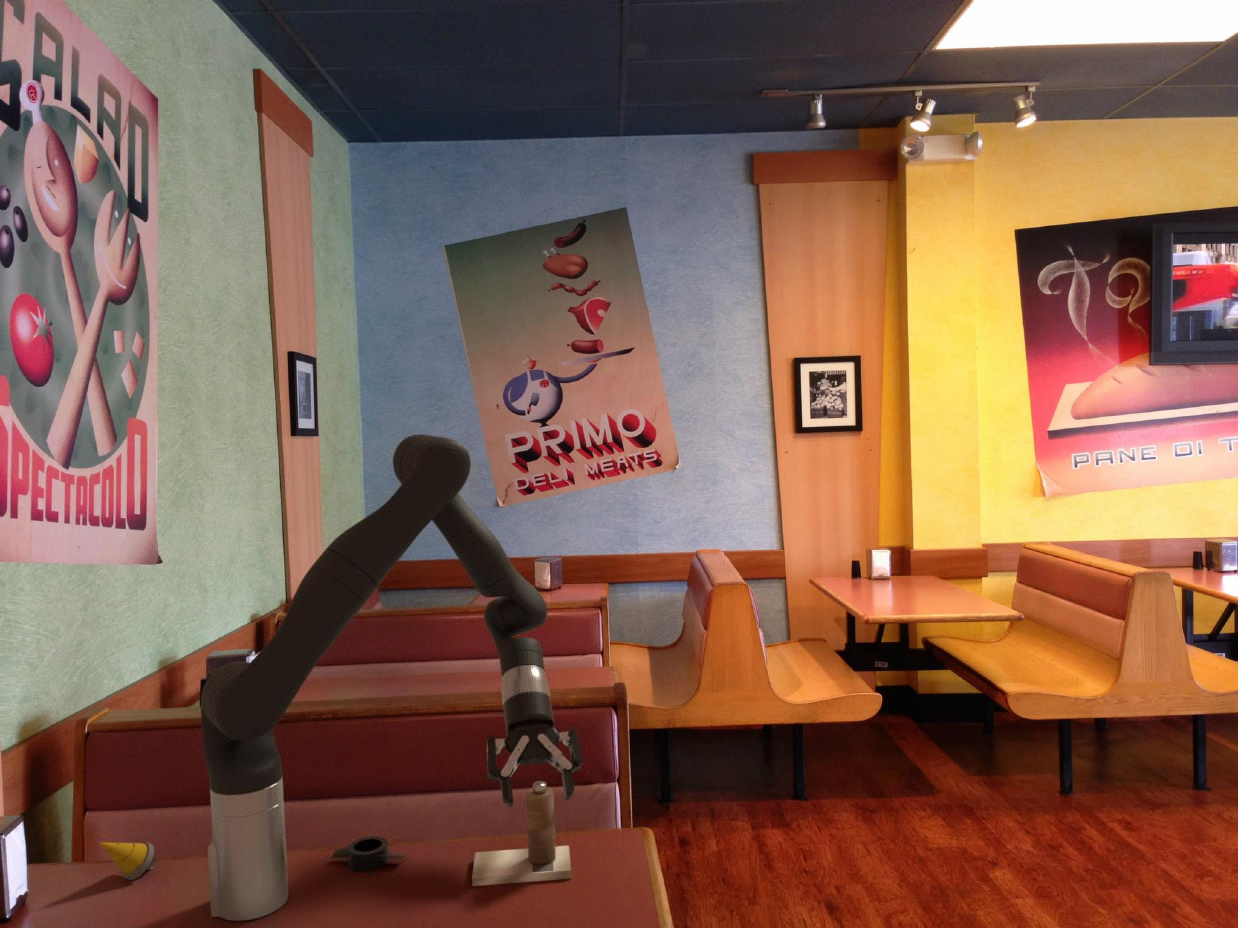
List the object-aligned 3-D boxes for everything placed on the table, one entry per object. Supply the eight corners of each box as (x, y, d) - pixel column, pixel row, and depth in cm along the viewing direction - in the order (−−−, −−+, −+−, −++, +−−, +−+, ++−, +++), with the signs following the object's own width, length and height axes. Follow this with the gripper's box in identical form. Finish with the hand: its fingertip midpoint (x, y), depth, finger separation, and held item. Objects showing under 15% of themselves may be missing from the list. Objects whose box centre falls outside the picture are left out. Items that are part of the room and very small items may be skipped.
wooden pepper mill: (529, 866, 132) (526, 790, 131) (527, 853, 136) (524, 779, 135) (556, 863, 133) (554, 787, 132) (554, 850, 137) (551, 777, 136)
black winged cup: (364, 885, 131) (363, 865, 131) (328, 863, 138) (327, 844, 138) (409, 864, 137) (409, 845, 137) (372, 844, 144) (372, 826, 143)
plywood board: (472, 885, 129) (472, 876, 129) (475, 859, 137) (475, 851, 137) (571, 878, 131) (571, 869, 131) (569, 853, 138) (568, 844, 138)
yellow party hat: (163, 879, 135) (109, 854, 129) (135, 892, 136) (80, 867, 130) (172, 845, 139) (120, 818, 133) (145, 857, 140) (91, 831, 134)
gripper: (482, 693, 141) (492, 796, 130) (573, 685, 144) (590, 784, 133) (480, 717, 146) (490, 817, 136) (568, 708, 149) (584, 805, 139)
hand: (539, 801), depth 134 cm, fingers open, 8 cm apart
